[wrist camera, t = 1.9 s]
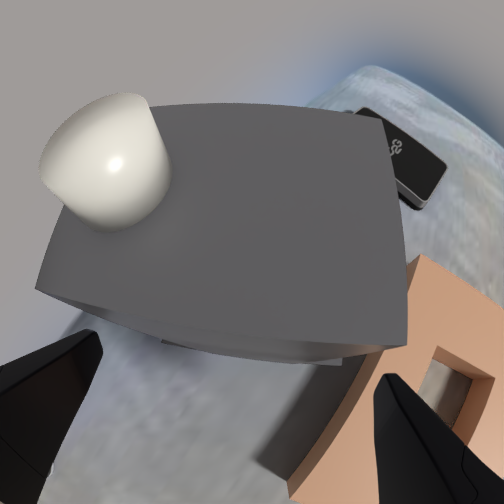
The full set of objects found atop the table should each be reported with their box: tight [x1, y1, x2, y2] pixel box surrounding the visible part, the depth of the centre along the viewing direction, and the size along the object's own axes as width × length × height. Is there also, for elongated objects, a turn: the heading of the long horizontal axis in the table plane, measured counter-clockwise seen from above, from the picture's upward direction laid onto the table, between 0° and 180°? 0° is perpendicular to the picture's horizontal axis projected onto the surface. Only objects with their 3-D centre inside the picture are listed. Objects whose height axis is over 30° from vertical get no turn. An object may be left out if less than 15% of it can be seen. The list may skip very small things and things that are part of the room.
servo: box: [35, 93, 408, 366], centre depth 11 cm, size 10×4×17 cm, turn 82°
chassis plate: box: [287, 254, 504, 504], centre depth 13 cm, size 18×18×3 cm
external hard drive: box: [353, 107, 448, 210], centre depth 24 cm, size 7×11×2 cm, turn 44°
